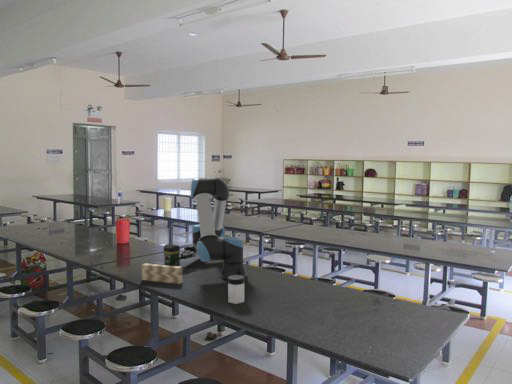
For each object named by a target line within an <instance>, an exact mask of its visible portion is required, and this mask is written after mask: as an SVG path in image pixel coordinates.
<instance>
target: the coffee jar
mask: <svg viewBox="0 0 512 384" xmlns="http://www.w3.org/2000/svg"><path fill="white" fill-rule="evenodd" d="M180 252H181V250H180V245H178V244H172V243H167V244H164V246H163V255H164V264H163V265H169V266H180V267H181V263H180V261H181V259H180V260H179V253H180Z"/></svg>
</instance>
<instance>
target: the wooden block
mask: <svg viewBox="0 0 512 384" xmlns="http://www.w3.org/2000/svg"><path fill="white" fill-rule="evenodd" d="M141 280H142V281H147V282H149V281H150V282H158V283H159V282H160V283H167V284H179V285H181V284H182V283H183V266H181V265H180V266H169V265H165V264H155V263H145V262H144V263H142V264H141Z"/></svg>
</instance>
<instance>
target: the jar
mask: <svg viewBox="0 0 512 384" xmlns="http://www.w3.org/2000/svg"><path fill="white" fill-rule="evenodd" d="M245 278H246V277H244V276H242V275H231V276H229V277H228V280H227V282H228V283H227V296H228V299H227V301H228V303H231V304H233V305H234V304H235V305H238V304H242V303H245V281H246V280H245Z"/></svg>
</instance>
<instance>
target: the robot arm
mask: <svg viewBox="0 0 512 384" xmlns="http://www.w3.org/2000/svg"><path fill="white" fill-rule="evenodd" d="M228 187H229V186H228V185H227V184H226V182H225V181H224V180H222V179H221V178H218V177H203V178H202V177H198V178H197V177H196V178H193V179H192V181H191V185H190V198H193V201H195V202H196V207H197V216H198V223H199V224H194V225H192V228H191V229H192V231H191V234H192V235H191V236H192V244H190V245H188V246H186V247H185V248H184V249H183V250H181V251H180V253H179V260H180V261H181V260H187V259H190V258H191V259H192V258H193V257H196V256H197V255H198V259H199V260H200V261H201V262H209V263H210V262H216V261H223V265H222V268H221V271H220V278H221V279H223V280H225V281H228V277H229V276H231V275H242V276H244V277H245V278H247V271H246V267H245V265H244V241H243V239H241V238H239V237H235V236H225V235H226V234H225V233H226V228H225V226H223V224H224V219H225V212H226V205H227V200H229V194H230V192H229V191H230V190H229V188H228ZM213 199H214V203H213V204H214V205H213V206H212V200H213ZM212 207H213V209H212ZM219 238H220V239H219ZM221 238H222V239H221Z"/></svg>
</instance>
